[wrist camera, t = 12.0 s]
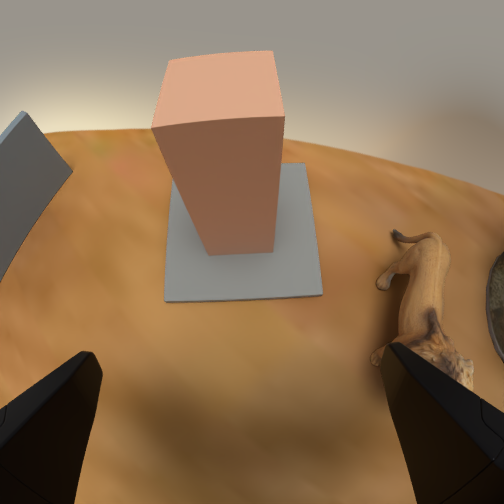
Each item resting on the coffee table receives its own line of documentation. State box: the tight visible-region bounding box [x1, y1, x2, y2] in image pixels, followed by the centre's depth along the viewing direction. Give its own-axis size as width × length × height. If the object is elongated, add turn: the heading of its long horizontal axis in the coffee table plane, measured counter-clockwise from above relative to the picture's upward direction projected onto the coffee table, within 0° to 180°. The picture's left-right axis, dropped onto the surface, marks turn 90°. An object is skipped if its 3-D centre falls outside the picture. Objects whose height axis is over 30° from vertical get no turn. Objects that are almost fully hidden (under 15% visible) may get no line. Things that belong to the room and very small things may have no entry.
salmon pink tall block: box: [151, 51, 285, 256], centre depth 18 cm, size 5×5×14 cm
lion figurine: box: [370, 229, 474, 391], centre depth 17 cm, size 15×5×9 cm, turn 177°
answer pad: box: [164, 163, 323, 303], centre depth 24 cm, size 12×12×1 cm
